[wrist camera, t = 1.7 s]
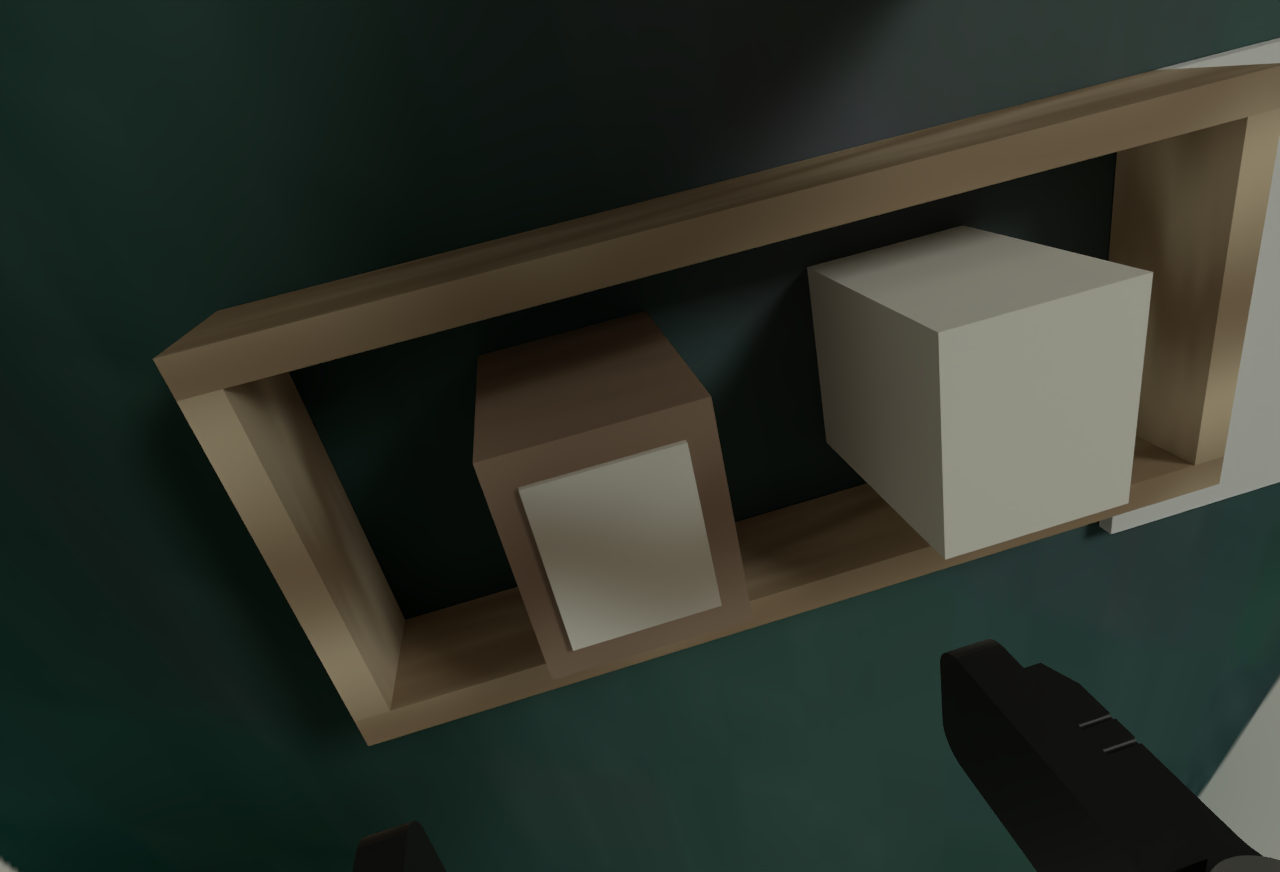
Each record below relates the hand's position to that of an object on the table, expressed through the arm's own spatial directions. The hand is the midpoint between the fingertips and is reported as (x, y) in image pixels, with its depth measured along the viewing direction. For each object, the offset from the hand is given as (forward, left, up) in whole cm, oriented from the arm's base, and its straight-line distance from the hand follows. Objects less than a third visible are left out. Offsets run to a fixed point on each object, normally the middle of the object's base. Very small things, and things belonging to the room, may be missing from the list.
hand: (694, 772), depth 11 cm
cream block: (0, +10, -13) cm, 16 cm away
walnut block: (0, 0, -13) cm, 13 cm away
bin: (0, +5, -13) cm, 14 cm away
